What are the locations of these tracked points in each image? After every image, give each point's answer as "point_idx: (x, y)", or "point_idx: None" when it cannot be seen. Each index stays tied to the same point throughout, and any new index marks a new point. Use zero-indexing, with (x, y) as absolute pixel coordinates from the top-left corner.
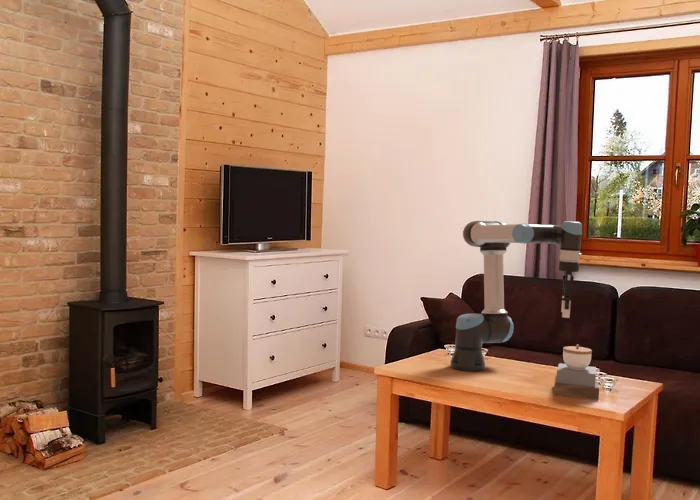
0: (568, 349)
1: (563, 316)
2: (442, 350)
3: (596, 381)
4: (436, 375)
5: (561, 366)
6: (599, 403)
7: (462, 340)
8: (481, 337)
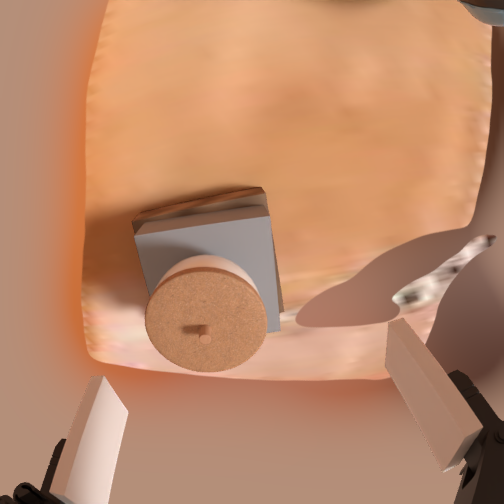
0: (155, 302)
1: (93, 388)
2: None
3: None
4: None
5: (210, 236)
6: (138, 321)
7: None
8: None
